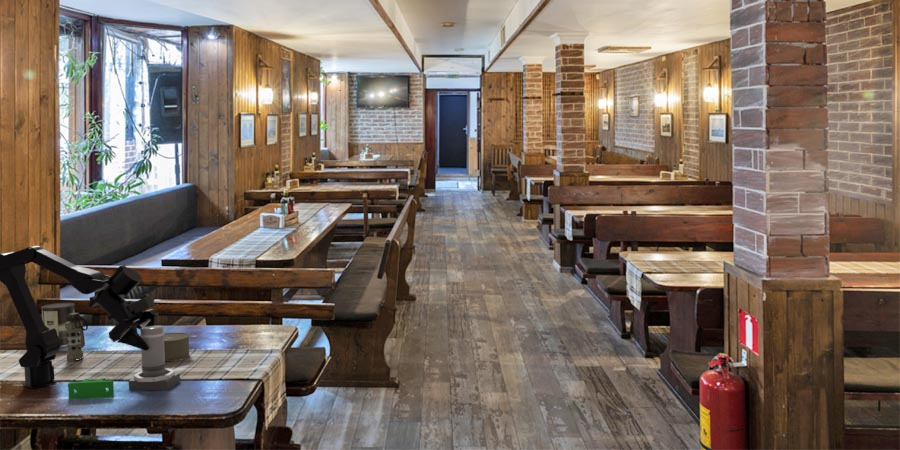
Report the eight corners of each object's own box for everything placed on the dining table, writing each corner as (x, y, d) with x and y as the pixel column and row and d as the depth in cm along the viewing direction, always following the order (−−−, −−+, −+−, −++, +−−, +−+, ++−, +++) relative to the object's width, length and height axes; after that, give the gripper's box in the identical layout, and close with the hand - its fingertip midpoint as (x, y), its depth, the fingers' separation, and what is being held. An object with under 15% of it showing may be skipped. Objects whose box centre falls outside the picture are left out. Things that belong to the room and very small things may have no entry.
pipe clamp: (117, 393, 199) (116, 377, 198) (112, 398, 195) (112, 381, 194) (74, 395, 197) (73, 379, 197) (68, 399, 193) (67, 383, 193)
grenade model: (82, 361, 232) (79, 315, 230) (63, 360, 233) (60, 314, 232) (95, 356, 238) (93, 311, 237) (77, 355, 239) (75, 311, 238)
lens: (145, 381, 200) (143, 331, 199) (139, 376, 205) (137, 327, 204) (169, 377, 204) (167, 328, 203) (162, 372, 209) (159, 324, 208)
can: (197, 354, 240) (196, 333, 239) (174, 363, 228) (173, 342, 228) (167, 351, 243) (166, 331, 243) (142, 361, 232) (141, 340, 231)
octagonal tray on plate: (127, 390, 200) (126, 378, 200) (144, 380, 210) (144, 368, 210) (165, 390, 200) (165, 378, 199) (181, 380, 210) (181, 368, 209)
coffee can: (78, 340, 262) (76, 301, 261) (74, 346, 252) (72, 306, 251) (45, 342, 258) (43, 303, 257) (41, 349, 248) (39, 308, 247)
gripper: (117, 292, 194) (159, 333, 194) (150, 281, 212) (188, 318, 213) (90, 321, 195) (132, 361, 195) (125, 307, 213) (163, 344, 214)
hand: (155, 345), depth 204 cm, fingers open, 9 cm apart
